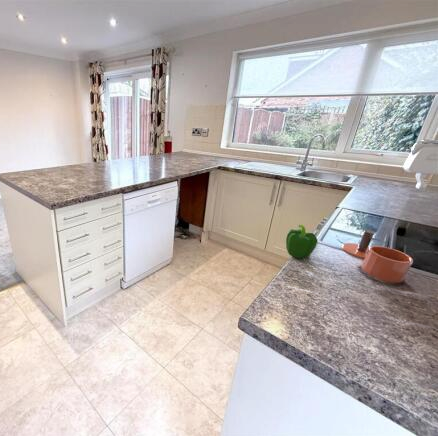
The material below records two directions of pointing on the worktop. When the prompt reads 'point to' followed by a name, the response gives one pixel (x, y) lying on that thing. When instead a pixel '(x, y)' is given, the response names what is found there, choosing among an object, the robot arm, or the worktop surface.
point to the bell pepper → (300, 243)
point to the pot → (386, 263)
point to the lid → (360, 245)
